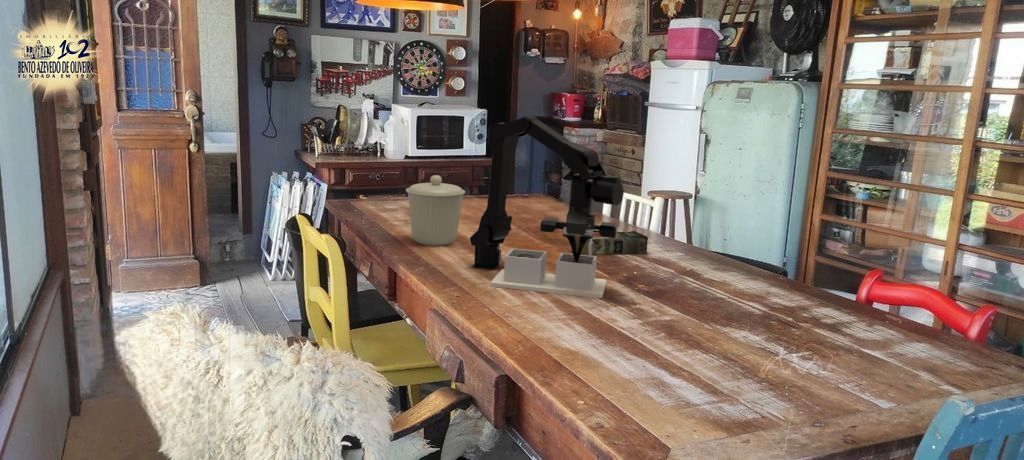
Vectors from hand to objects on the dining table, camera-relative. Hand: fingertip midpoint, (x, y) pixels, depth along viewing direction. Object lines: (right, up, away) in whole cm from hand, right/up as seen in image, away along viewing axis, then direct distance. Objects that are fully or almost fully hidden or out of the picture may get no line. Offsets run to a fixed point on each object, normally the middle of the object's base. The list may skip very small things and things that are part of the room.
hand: (576, 260), depth 184 cm
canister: (-40, +4, +43) cm, 59 cm away
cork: (+3, -3, +20) cm, 20 cm away
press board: (-7, -6, +3) cm, 9 cm away
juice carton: (+15, +1, +44) cm, 46 cm away
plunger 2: (0, -6, +1) cm, 6 cm away
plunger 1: (-13, -4, +4) cm, 14 cm away
